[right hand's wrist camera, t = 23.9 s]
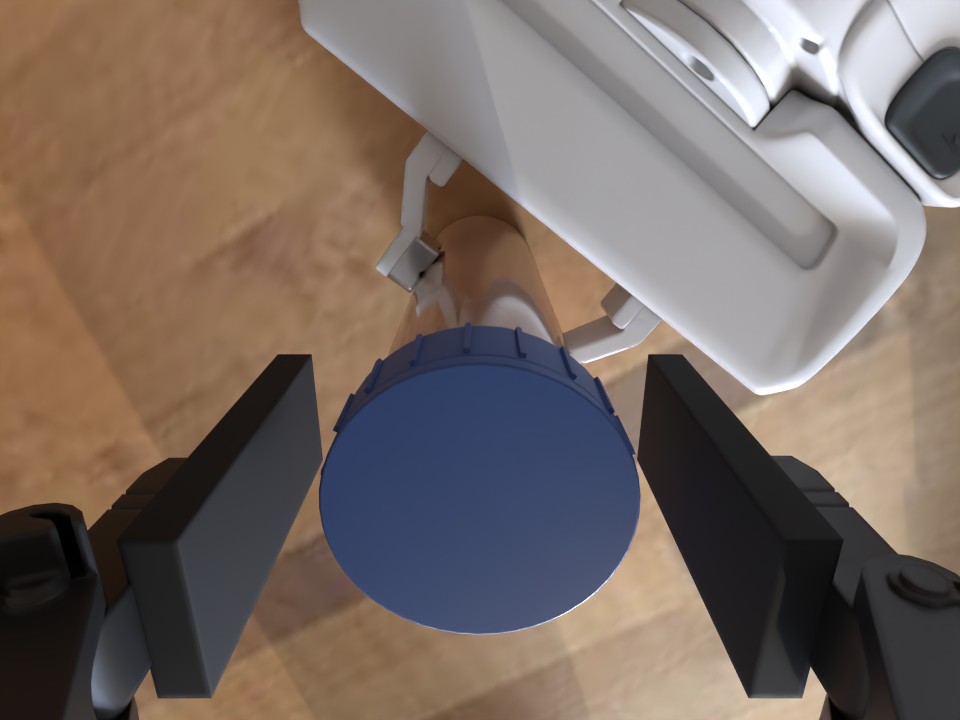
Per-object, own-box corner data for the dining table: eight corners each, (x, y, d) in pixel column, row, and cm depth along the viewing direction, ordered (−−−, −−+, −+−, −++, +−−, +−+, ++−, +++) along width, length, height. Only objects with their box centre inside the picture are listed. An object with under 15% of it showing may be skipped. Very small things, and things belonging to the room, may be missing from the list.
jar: (554, 254, 27) (664, 450, 11) (494, 339, 29) (512, 623, 12) (464, 193, 26) (438, 307, 10) (406, 283, 28) (301, 513, 11)
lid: (639, 539, 13) (665, 607, 11) (386, 589, 13) (371, 661, 12) (594, 290, 11) (617, 323, 9) (299, 360, 11) (265, 404, 10)
